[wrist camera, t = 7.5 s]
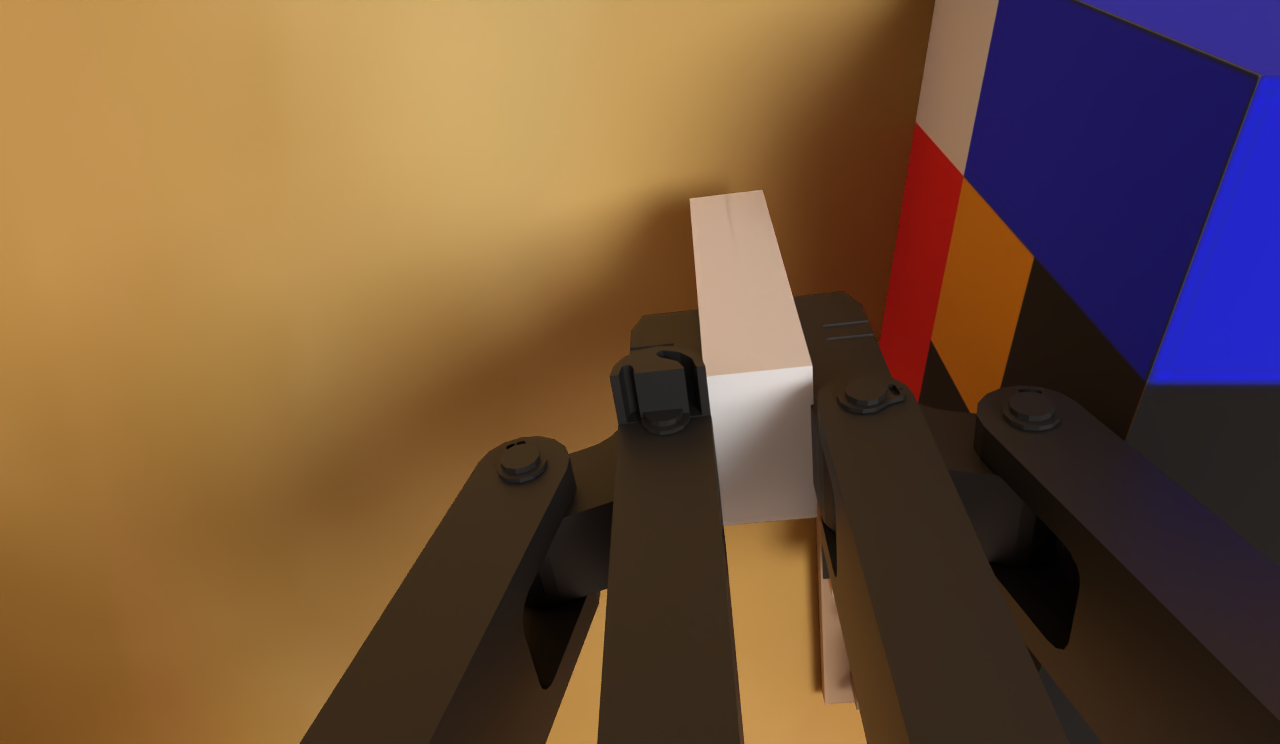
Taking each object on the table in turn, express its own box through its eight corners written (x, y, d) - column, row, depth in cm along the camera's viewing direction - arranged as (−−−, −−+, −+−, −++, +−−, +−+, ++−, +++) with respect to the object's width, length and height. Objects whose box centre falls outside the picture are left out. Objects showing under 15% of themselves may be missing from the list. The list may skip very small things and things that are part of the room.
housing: (821, 688, 28) (842, 794, 25) (791, -187, 15) (826, -191, 12) (1386, 647, 26) (1481, 753, 23) (1886, -363, 13) (2243, -418, 10)
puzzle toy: (943, -55, 16) (1261, 75, 8) (1483, -60, 16) (2417, 67, 7) (871, 387, 21) (1011, 748, 13) (1274, 387, 21) (1680, 754, 13)
